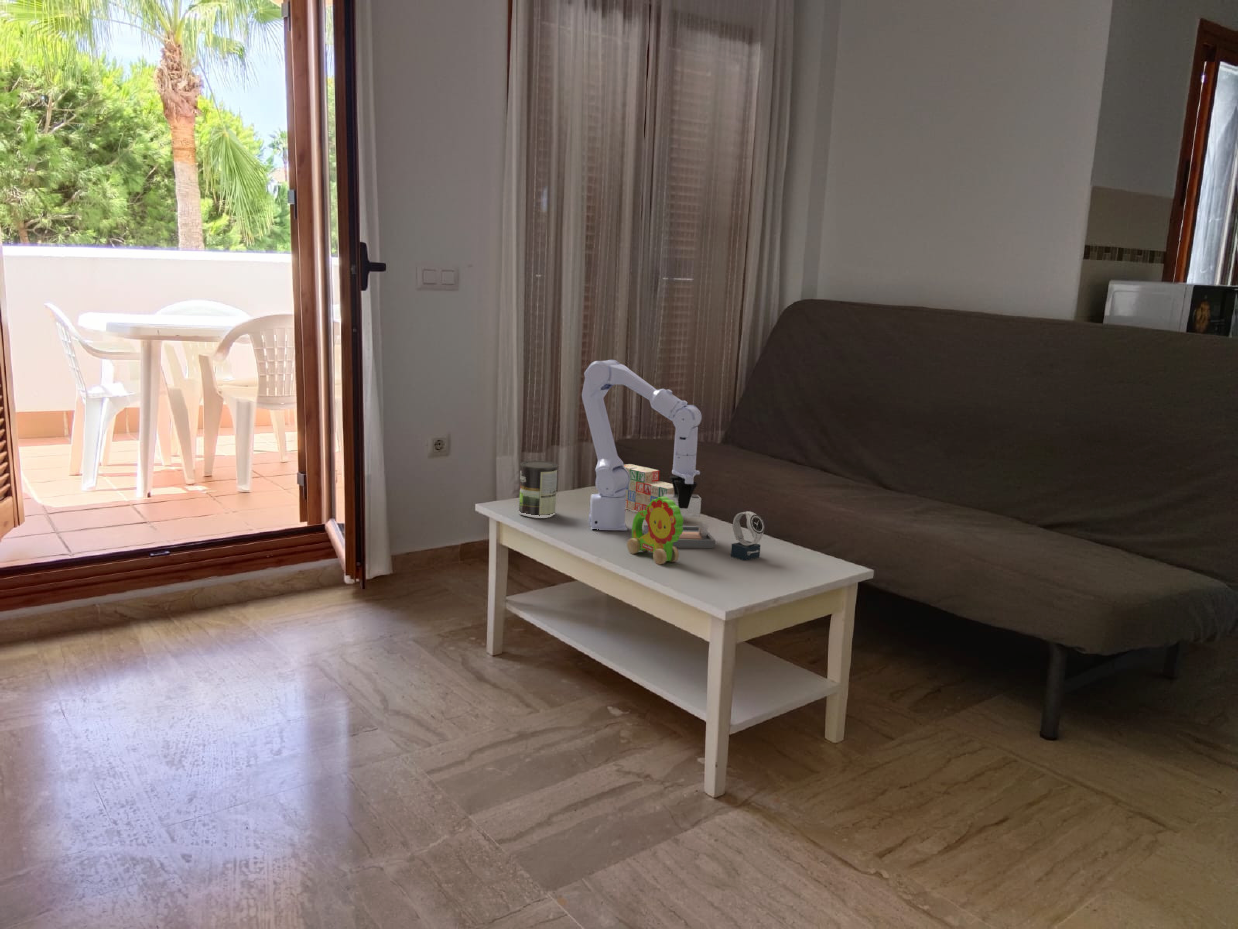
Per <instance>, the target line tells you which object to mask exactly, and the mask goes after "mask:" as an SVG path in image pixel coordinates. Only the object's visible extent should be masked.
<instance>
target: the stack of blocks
mask: <svg viewBox="0 0 1238 929" xmlns="http://www.w3.org/2000/svg"><path fill="white" fill-rule="evenodd" d="M624 467H625V469H626V470H627V471H628V473H629V475H630V484H629V486H628V487H627V488H626V490H625V491H626V504H625V507H626V508H628V509H631V510H636V511H638V512H640V511H643V510H646V508H647V506H648V505H649V504H650V502H651V501H652V500H653V499H657V498H658V497H663V494H674V489H673V484H672V483H669V482H665V481H661V480H660V470H659V469H654V468H650V467H646V466H641V465H637V464H636V465H635V464H632V463H628V464H624Z"/></svg>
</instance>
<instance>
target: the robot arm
mask: <svg viewBox="0 0 1238 929" xmlns="http://www.w3.org/2000/svg"><path fill="white" fill-rule="evenodd" d="M583 375H584V382H583V387H582V392H581V399H582V403H583V406H584V411H585V414H586V415H585V416H586V420H587V422H588V427H589V430H590V435H591V439H592V443H593V447H594V450H595V454H596V459H597V464H596V466H595V476H596V478H595V480H594V481H595V482H594V483H595V488H596V490H597V491H598V493H593V494H590V501H589V514H588V524H589V527H590V526H591V527H590V529H591V530H592V529H597V530H596V531H628V527H627V526H626V524H625V521H626V517H625V516H626V509H625V504H626V491H625V490H626V488H627V487H628V486H629V484H630V475H629V473H628V471H627V470H626V469H625V467H624V465H625V463H624V461H623V460H622V459H621V458H620V457H619V455H618V452H617V448H616V442H615V440H614V435H613V433H612V432H613V431H612V429H611V424H610V419H609V415H608V413H607V412H608V411H607V409H606V408H607V407H606V404H605V400H604V399H605V398H604V397H605V396H606V395H607V393H608V392H609V391H610V388H612V387H613V386H615V385H618V386H619V385H623V386H625V387H627V388H628V389H630V390H632V391H634V392H635V393H636V394H639V396H641V397H643V398H644V399H647V400H648V401H649V404H650V407H651V409H653V410H655V411H656V412H658V413H659V414H660V415H662V416H663V417H665V418H666V419H668V420H670V421H672V424H673V426H674V427H675V434H674V444H673V446H674V447H673V458H672V459H673V461H672V463H673V464H672V470H671V474H672V475H670V476H669V478H670V479H669V480H670V482H671V484H673V489H674V494H676V495H678V503H679V508H684V509H687V508H688V506H689V503H690V499H691V496H692V494H693V493H694V491H695V489H696V487H697V486H698V482H696V481H694V478H695V476H697V475H700V474H701V472H700V470H696V466H697V452H698V451H697V450H698V438H699V437H698V435H699V434H698V432H699V431H698V430H699V425H700V424H701V422H702V418H703V417H702V412H701V410H700V409H699V408H698V407H697V406H696V405H693V404H688V401H686V400H682V399H680V398H679V397H678V396H676V395H674V394H673V391H672V390H671V389H670V388H669V389H665V388H661V389H657V388H655V387H654V386H653V385H651V384H650V383H648V382H647V381H646V380H644V379H643V378H642V377H640V376H639V375H638V374H636V373H635V372H634V371H632V370H631V369H630V368H628V367H627V366H626V365H625V364H621V363H620V362H619V361H618V360H616V359H608V360H595V361H593V362H591V363H590V364H589V365H588V367H587V368H586V370H585V371H584V373H583ZM598 529H599V530H598Z"/></svg>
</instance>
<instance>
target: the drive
mask: <svg viewBox="0 0 1238 929" xmlns="http://www.w3.org/2000/svg"><path fill="white" fill-rule="evenodd" d="M663 497H668V499H669V500H673V501H674V502H675V504H676V506H678V507H679V503H678V495H676V494H663ZM701 506H702V497H700V495H699V494H697V493H695V494H693V493H692V496H691V499H690V503H689V506H688V508H687V509H684V508H680V511H681V515H682V516H683V518H701V508H702V507H701Z"/></svg>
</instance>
